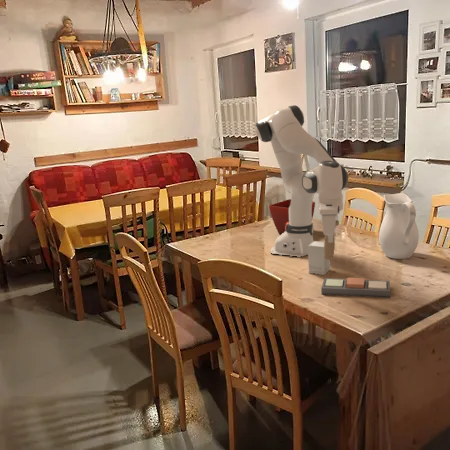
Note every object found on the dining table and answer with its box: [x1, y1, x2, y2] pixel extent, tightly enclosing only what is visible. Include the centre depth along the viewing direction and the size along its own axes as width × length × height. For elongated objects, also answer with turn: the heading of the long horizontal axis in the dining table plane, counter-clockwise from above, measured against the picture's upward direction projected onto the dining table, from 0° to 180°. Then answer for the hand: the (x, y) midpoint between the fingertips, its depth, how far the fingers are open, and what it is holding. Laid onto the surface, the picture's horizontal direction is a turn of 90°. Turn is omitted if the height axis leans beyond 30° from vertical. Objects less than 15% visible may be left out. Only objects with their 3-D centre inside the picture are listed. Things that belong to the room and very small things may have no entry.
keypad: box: [320, 277, 391, 299], centre depth 178 cm, size 25×10×3 cm, turn 72°
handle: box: [323, 220, 340, 261], centre depth 176 cm, size 5×6×15 cm
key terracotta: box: [346, 277, 365, 288], centre depth 177 cm, size 6×6×2 cm
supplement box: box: [307, 240, 331, 276], centre depth 200 cm, size 7×7×13 cm
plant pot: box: [268, 198, 316, 234], centre depth 262 cm, size 19×19×17 cm
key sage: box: [325, 278, 343, 287], centre depth 180 cm, size 6×6×2 cm
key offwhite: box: [368, 280, 387, 289], centre depth 175 cm, size 6×6×2 cm
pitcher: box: [378, 192, 420, 260], centre depth 206 cm, size 24×17×28 cm
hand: (331, 240), depth 176 cm, fingers closed on handle, 3 cm apart
